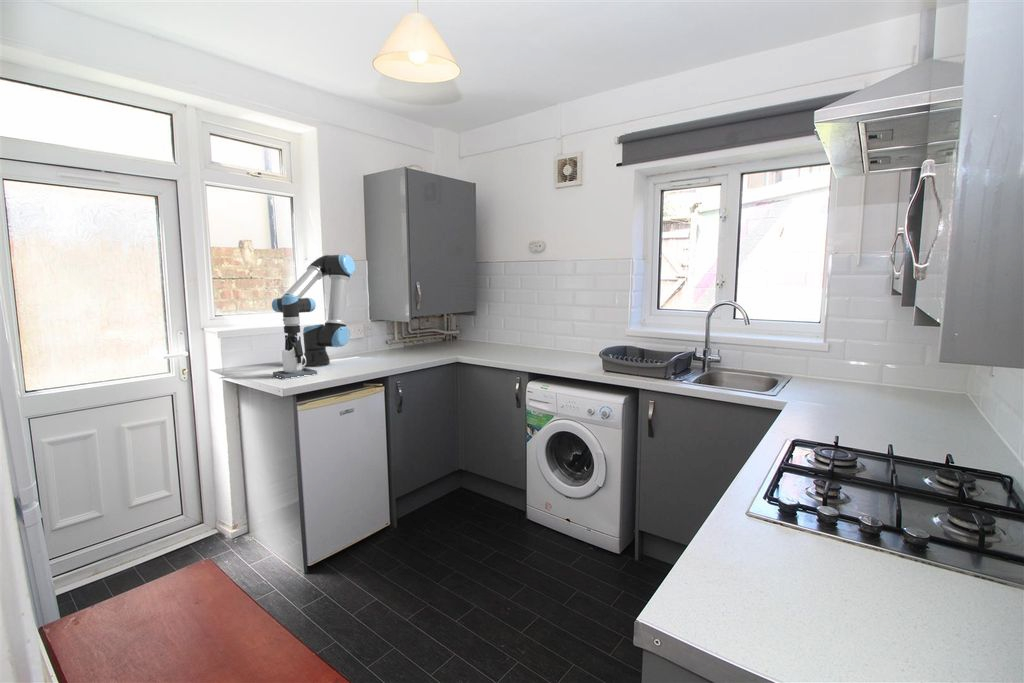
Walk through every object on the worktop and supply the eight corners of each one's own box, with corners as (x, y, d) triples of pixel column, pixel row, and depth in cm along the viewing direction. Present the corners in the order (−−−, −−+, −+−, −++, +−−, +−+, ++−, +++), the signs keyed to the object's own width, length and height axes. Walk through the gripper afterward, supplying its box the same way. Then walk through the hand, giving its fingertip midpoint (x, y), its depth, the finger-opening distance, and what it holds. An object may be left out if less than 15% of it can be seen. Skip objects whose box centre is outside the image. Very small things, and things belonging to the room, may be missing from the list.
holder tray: (305, 371, 258) (305, 367, 258) (317, 374, 248) (317, 370, 248) (273, 375, 246) (272, 372, 246) (284, 379, 236) (284, 375, 236)
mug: (302, 372, 242) (300, 351, 240) (279, 372, 243) (278, 351, 242) (311, 369, 250) (309, 349, 249) (289, 369, 252) (288, 349, 250)
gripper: (275, 324, 249) (279, 367, 252) (293, 326, 234) (296, 371, 237) (290, 323, 255) (293, 365, 257) (308, 325, 239) (311, 369, 242)
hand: (294, 368), depth 247 cm, fingers closed on mug, 10 cm apart
